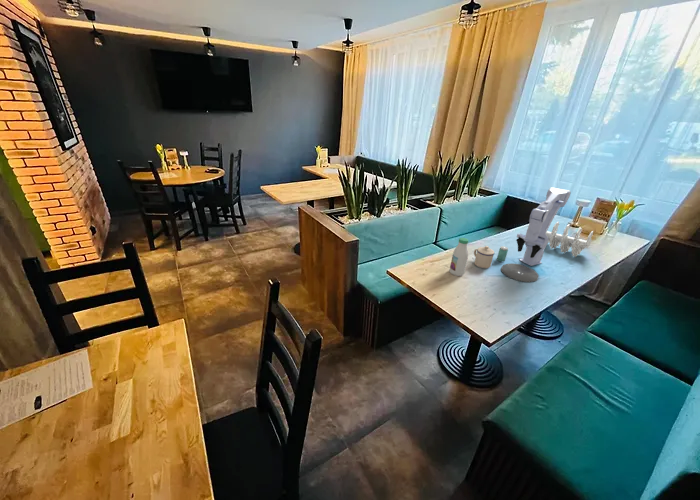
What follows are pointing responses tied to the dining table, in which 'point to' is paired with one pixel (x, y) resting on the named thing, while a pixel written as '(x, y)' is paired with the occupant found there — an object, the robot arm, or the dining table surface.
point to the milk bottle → (459, 258)
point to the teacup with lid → (483, 257)
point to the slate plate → (519, 272)
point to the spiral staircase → (568, 240)
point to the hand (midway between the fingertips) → (525, 254)
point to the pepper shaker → (502, 253)
